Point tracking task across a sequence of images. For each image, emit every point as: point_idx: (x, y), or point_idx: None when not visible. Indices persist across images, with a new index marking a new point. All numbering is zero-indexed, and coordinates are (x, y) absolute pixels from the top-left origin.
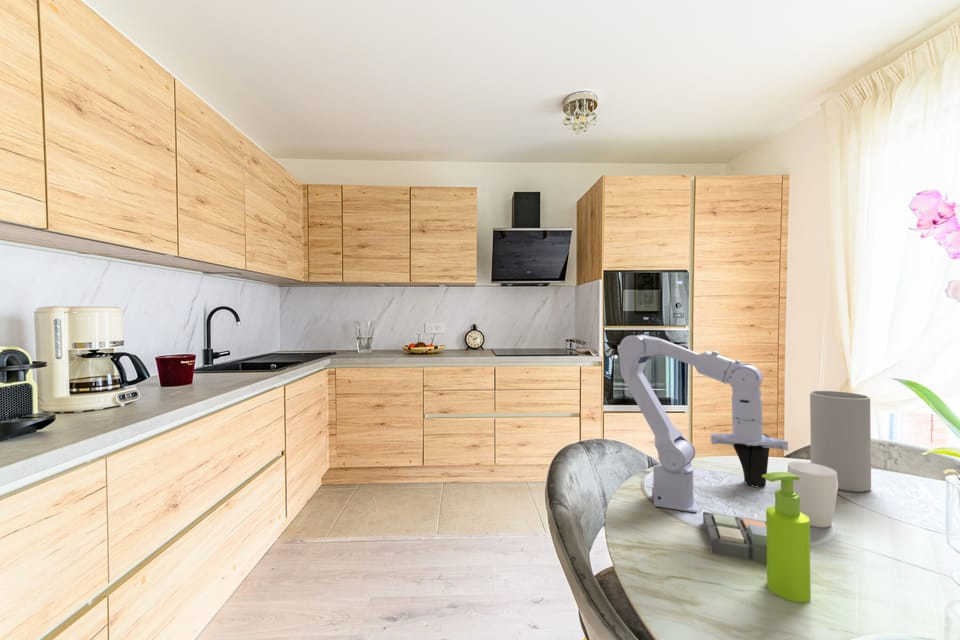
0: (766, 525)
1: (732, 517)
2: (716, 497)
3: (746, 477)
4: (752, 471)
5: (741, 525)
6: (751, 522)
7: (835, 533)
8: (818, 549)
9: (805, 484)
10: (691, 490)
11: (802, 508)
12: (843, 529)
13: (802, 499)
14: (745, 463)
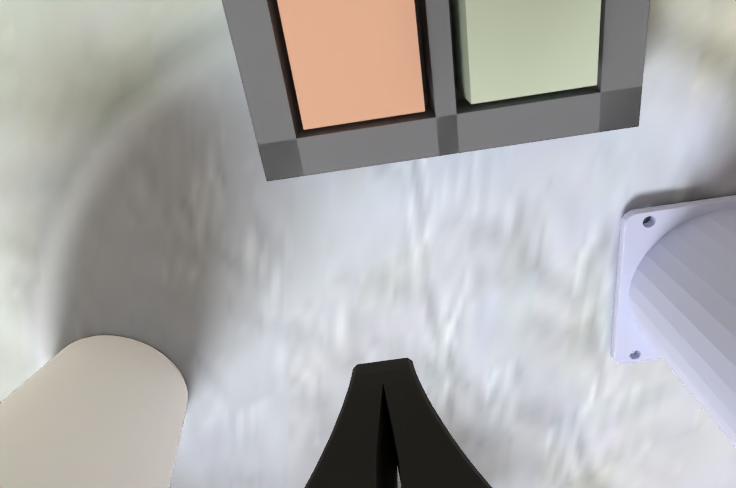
0: (293, 123)
1: (482, 92)
2: (494, 425)
3: (409, 364)
4: (358, 417)
5: (433, 36)
6: (375, 76)
7: (30, 311)
8: (75, 100)
9: None
10: (702, 304)
11: (123, 388)
12: (8, 363)
13: (98, 422)
14: (440, 471)
